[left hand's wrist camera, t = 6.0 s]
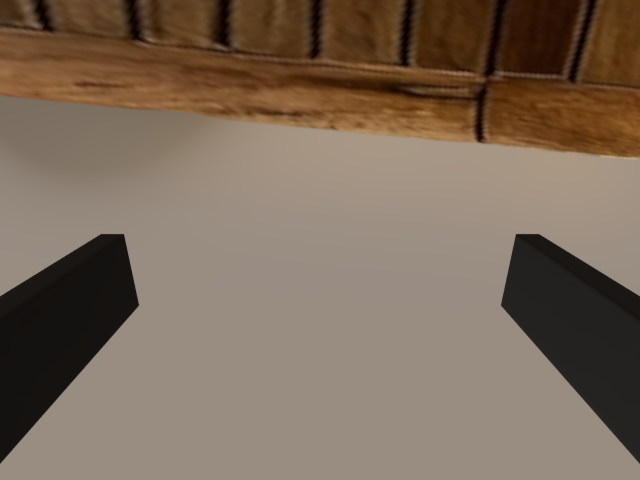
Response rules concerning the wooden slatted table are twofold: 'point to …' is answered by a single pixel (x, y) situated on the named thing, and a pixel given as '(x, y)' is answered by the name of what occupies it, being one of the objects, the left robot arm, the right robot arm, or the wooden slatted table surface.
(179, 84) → the wooden slatted table surface
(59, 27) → the wooden slatted table surface
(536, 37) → the wooden slatted table surface
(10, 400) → the left robot arm
